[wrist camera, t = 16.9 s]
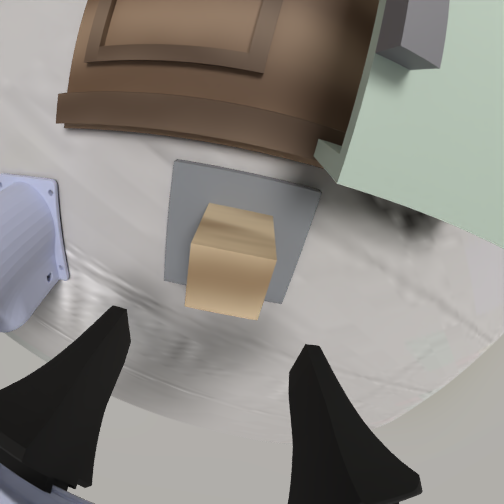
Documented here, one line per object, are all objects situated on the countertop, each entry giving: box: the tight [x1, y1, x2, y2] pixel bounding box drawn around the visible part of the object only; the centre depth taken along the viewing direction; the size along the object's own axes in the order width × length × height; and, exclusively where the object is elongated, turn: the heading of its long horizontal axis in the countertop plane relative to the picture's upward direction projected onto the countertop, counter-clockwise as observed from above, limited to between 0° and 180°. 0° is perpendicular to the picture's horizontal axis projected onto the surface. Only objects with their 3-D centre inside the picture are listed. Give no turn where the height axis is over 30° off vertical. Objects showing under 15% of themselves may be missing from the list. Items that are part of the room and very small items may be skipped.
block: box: [185, 203, 277, 320], centre depth 16 cm, size 4×4×5 cm
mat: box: [164, 159, 321, 304], centre depth 18 cm, size 9×9×1 cm
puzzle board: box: [56, 0, 379, 169], centre depth 10 cm, size 20×30×2 cm, turn 77°
